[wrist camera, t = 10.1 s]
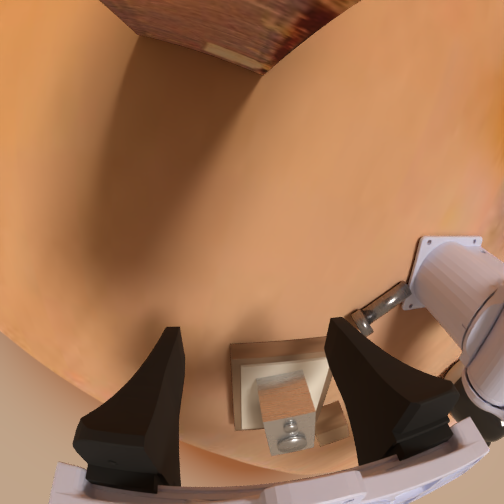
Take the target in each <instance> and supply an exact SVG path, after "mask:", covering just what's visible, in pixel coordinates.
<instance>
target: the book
mask: <svg viewBox="0 0 504 504" xmlns="http://www.w3.org/2000/svg"><path fill="white" fill-rule="evenodd" d="M100 1H101V2H102V3H103V4H104V5H105V6H106V7H108V8H109V9H110V10H111V11H112V12H113V13H114V14H115V15H117V16H118V17H119V18H120V19H121V20H122V21H123V22H124V23H125V24H126V25H128V26H129V27H130V28H131V29H132V30H133V31H134V32H135V33H136V34H137V35H142V36H146V37H150V38H154V39H158V40H162V41H166V42H169V43H173V44H177V45H180V46H183V47H187V48H190V49H193V50H196V51H199V52H202V53H205V54H208V55H211V56H214V57H217V58H220V59H223V60H225V61H228V62H231V63H233V64H236V65H238V66H241V67H244V68H246V69H249V70H251V71H253V72H256V73H258V74H260V75H264V74H265V73H266V72H268V71H269V70H270V69H271V68H272V67H273V66H274V65H276V64H277V63H278V62H279V61H280V60H282V59H283V58H284V57H285V56H286V55H288V54H289V53H290V52H291V51H292V50H294V49H295V48H296V47H297V46H299V45H300V44H301V43H302V42H304V41H305V40H306V39H307V38H309V37H310V36H311V35H313V34H314V33H315V32H317V31H318V30H319V29H321V28H322V27H323V26H325V25H326V24H327V23H329V22H330V21H331V20H333V19H334V18H336V17H337V16H338V15H340V14H341V13H343V12H344V11H346V10H347V9H349V8H350V7H352V6H353V5H355V4H356V3H358V2H359V1H361V0H100Z"/></svg>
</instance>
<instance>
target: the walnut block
mask: <svg viewBox="0 0 504 504" xmlns="http://www.w3.org/2000/svg"><path fill="white" fill-rule="evenodd" d="M315 435H316V437H317V440H318V442H319V445H320V447H321V446H324V445H327V444H330V443H333V442H336V441H338V440H341V439H344V438H347V437H349V430H348V424H347V422H346V419H345V416H344V414H343V411H342V409H341V406H340V403H339V401H336V402H333V403H331V404H328V405H325V406H322V409H321V412H320V415H319V417H318V420H317V422H315Z"/></svg>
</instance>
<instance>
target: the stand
mask: <svg viewBox="0 0 504 504" xmlns="http://www.w3.org/2000/svg"><path fill="white" fill-rule="evenodd" d="M326 337H327V336H325V337H317V338H307V339H297V340H286V341H273V342H259V343H242V344H230V350H231V373H232V394H233V413H234V426H235V431H242V430H256V429H264V424H263V419H262V413H261V407H260V401H259V395H258V389H257V383H256V378H262V377H268V376H273V375H278V374H283V373H288V372H293V371H298V370H303V373H304V376H305V379H306V382H307V385H308V389H309V392H310V395H311V398H312V401H313V404H314V408H315V411H316V417H315V422H317V420H318V417H319V415H320V412H321V409H322V406H323V403H324V400H325V397H326V394H327V391H328V388H329V385H330V381H331V378H332V372H331V370H330V368H329V365H328V362H327V358H326V354H325V351H324V346H325V341H326Z"/></svg>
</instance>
